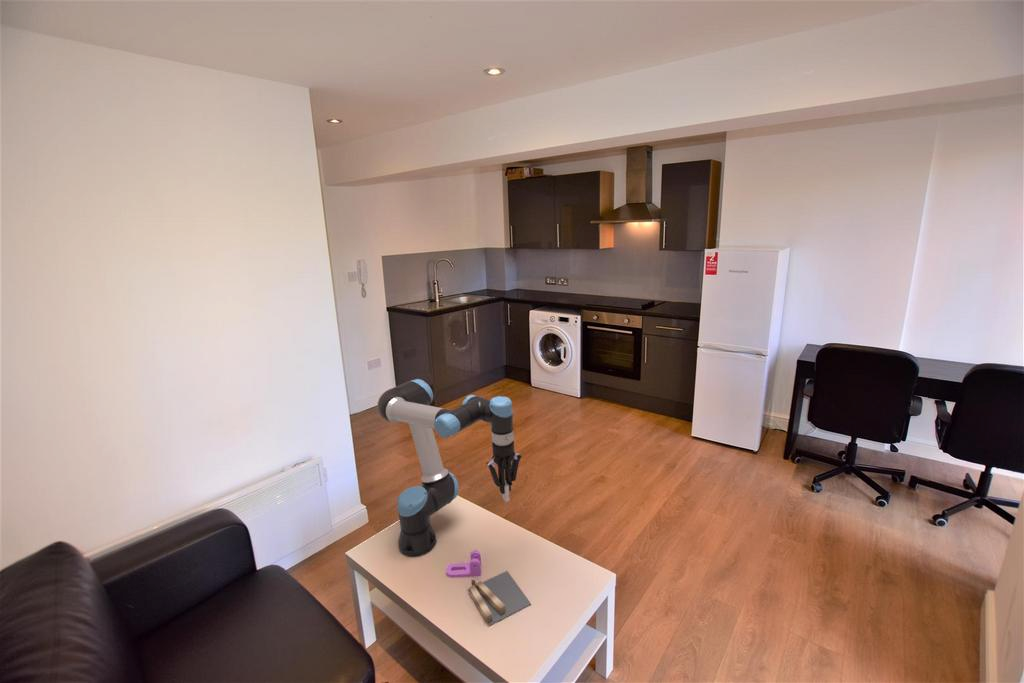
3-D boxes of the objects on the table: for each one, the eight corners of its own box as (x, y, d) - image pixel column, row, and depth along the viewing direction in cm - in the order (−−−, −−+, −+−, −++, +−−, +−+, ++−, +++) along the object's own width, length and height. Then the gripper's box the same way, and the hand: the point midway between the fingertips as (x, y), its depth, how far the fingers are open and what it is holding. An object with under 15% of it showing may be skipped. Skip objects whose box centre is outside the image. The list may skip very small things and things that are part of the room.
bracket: (481, 565, 173) (480, 549, 171) (480, 576, 168) (479, 561, 166) (447, 566, 173) (445, 551, 171) (445, 578, 168) (443, 562, 166)
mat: (467, 589, 162) (467, 589, 162) (507, 571, 170) (507, 570, 170) (489, 626, 148) (489, 625, 148) (531, 604, 155) (531, 603, 155)
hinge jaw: (476, 589, 162) (475, 583, 161) (480, 586, 163) (480, 580, 162) (500, 614, 151) (500, 608, 151) (505, 611, 152) (505, 605, 152)
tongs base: (467, 590, 162) (466, 582, 161) (475, 586, 163) (474, 579, 162) (486, 623, 149) (486, 615, 148) (495, 619, 150) (494, 611, 149)
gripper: (490, 451, 150) (494, 511, 157) (524, 440, 156) (526, 499, 163) (481, 441, 157) (485, 500, 164) (514, 431, 163) (516, 488, 170)
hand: (505, 499), depth 164 cm, fingers closed
